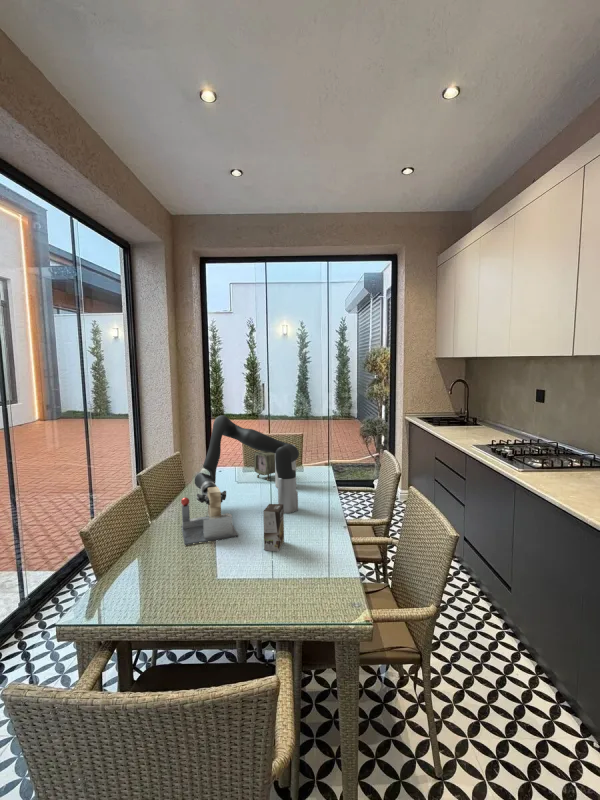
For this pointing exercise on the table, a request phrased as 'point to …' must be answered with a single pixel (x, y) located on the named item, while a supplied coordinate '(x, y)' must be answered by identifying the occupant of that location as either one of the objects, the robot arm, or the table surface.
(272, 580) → the table surface
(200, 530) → the vise bed
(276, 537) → the coffee box
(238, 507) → the table surface
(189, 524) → the vise slide jaw
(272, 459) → the tabletop clock
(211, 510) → the maple block
